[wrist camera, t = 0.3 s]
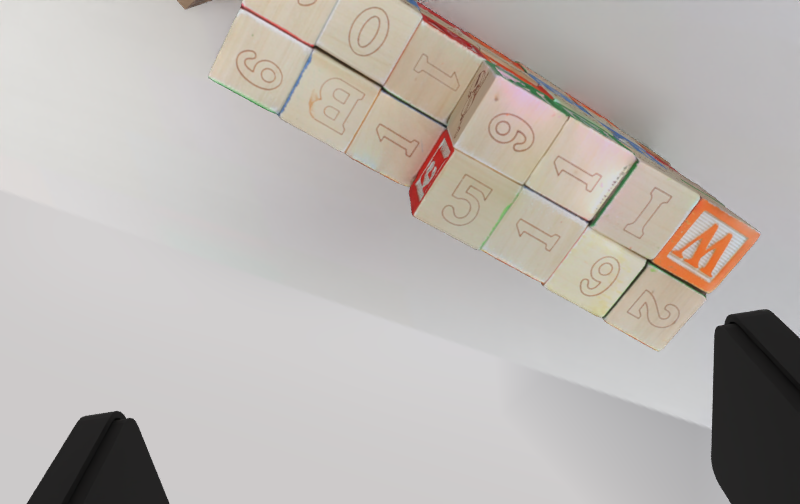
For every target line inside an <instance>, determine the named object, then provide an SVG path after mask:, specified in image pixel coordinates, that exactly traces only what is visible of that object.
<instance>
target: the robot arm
mask: <svg viewBox="0 0 800 504" xmlns="http://www.w3.org/2000/svg"><path fill="white" fill-rule="evenodd" d="M711 450H712V451H711V460H712V467H713V471H714V474H715V477H716V479H717V481H718V483H719V485H720V486H721V488H722V490H723V491H724V493H725V494H726V496H727V498H728V499H729V501H730V503H731V504H800V338H799V337H798V336H797V335H796V334H795V333H794V332H793V331H791V330H790V329H789V328H788V327H787V326H786V325H785V324H784V323H783V322H782V321H781V320H780V319H779V318H778V317H777V316H776V315H775V314H774V313H772V312H771V311H770V310H766V309H763V310H756V311H750V312H744V313H737V314H731V315H729V316H727V318H726V320H725V325H721V326H718V327H716V330H715V335H714V373H713V411H712V449H711ZM27 504H169V501H168V499H167V497H166V494H165V491H164V489H163V487H162V484H161V482H160V479H159V477H158V474H157V472H156V469H155V467H154V465H153V462H152V459H151V457H150V455H149V452H148V449H147V447H146V444H145V442H144V440H143V437H142V435H141V432H140V430H139V427H138V425H137V423H136V421H135V420H134V419H132V418H127V419H126V417H125V416H124V415H123V414H122V413H121V412H119V411H114V412H108V413H102V414H95V415H89V416H84V417H82V418H80V420H79V421H78V422H77V423H76V425H75V427H74V428H73V430H72V431H71V433H70V435H69V437H68V438H67V440H66V441H65V443H64V444H63V446H62V448H61V449H60V451H59V453H58V454H57V456H56V457H55V459H54V461H53V462H52V464H51V466H50V467H49V469H48V470H47V472H46V474H45V475H44V477H43V478H42V480H41V482H40V483H39V485H38V487H37V488H36V490H35V491H34V493H33V495H32V496H31V498H30V499H29V501H28V503H27Z"/></svg>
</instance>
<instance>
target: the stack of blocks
mask: <svg viewBox="0 0 800 504" xmlns="http://www.w3.org/2000/svg"><path fill="white" fill-rule="evenodd" d="M208 77H209V78H210V79H211V80H213V81H214V82H216V83H218V84H220V85H222V86H224V87H225V88H227V89H229V90H231V91H233V92H235V93H237V94H238V95H240V96H242V97H244V98H246V99H248V100H249V101H251V102H253V103H255V104H256V105H258V106H260V107H262V108H264V109H266V110H268V111H270V112H273V113H276V114H277V115H278V116H279V118H281V119H282V120H284V121H285V122H287V123H289V124H291V125H293V126H294V127H296V128H298V129H300V130H302V131H304V132H305V133H307V134H309V135H311V136H313V137H315V138H316V139H318V140H320V141H322V142H324V143H326V144H328V145H329V146H331V147H333V148H335V149H336V150H338V151H340V152H343V153H345V154H346V155H348V156H349V157H350V158H352V159H353V160H356V161H358V162H359V163H361V164H363V165H365V166H366V167H368V168H370V169H372V170H374V171H376V172H378V173H380V174H382V175H384V176H385V177H387V178H389V179H391V180H393V181H395V182H397V183H399V184H401V185H404V186H407V187H410V190H409V196H410V201H411V210H412V215H413V216H414V217H416V218H417V219H419V220H421V221H423V222H425V223H427V224H429V225H431V226H432V227H434V228H436V229H438V230H440V231H442V232H444V233H446V234H448V235H450V236H451V237H453V238H455V239H457V240H459V241H461V242H462V243H464V244H466V245H468V246H470V247H472V248H474V249H476V250H482V251H484V252H485V253H487V254H489V255H490V256H492V257H494V258H496V259H497V260H499V261H501V262H503V263H505V264H507V265H509V266H511V267H513V268H515V269H517V270H518V271H520V272H522V273H524V274H525V275H527V276H529V277H531V278H533V279H535V280H537V281H539V282H541V284H542V286H544V287H545V288H546V289H548V290H550V291H552V292H553V293H555V294H557V295H559V296H561V297H563V298H564V299H566V300H568V301H570V302H572V303H574V304H575V305H577V306H579V307H581V308H583V309H585V310H586V311H588V312H590V313H592V314H594V315H595V316H597V317H600V318H601V317H602V318H603V320H604V321H605V322H606V323H608V324H610V325H611V326H613V327H615V328H617V329H619V330H620V331H622V332H624V333H626V334H627V335H629V336H631V337H633V338H634V339H636V340H638V341H640V342H641V343H643V344H645V345H647V346H649V347H650V348H652V349H654V350H657V351H661V350H662V349H663V348H664V347H665V346H666V345H667V344H668V342H669V341H670V340H671V339H672V338H673V337H674V336H675V334H676V333H677V332H678V331H679V330H680V329H681V328H682V327H683V325H684V324H685V323H686V322H687V321H688V320H689V319H690V317H691V316H692V315H693V314H694V313H695V312H696V311H697V310H698V309H699V308H700V307H701V306H702V305H703V304H704V302H705V301H706V300H707V299H706V293H707V294H709V293H711V292H712V291H713V290H714V289H715V288H717V287H718V286H719V284H720V283H721V282H722V281H723V280H724V278H725V277H726V276H727V275H728V274H729V273H730V271H731V270H732V269H733V268H734V267H735V266H736V264H737V263H738V262H739V261H740V260H741V259H742V257H743V256H744V255H745V254H746V253H747V251H748V250H749V249H750V248H751V247H752V245H753V244H754V243H755V242H756V241H757V239H758V238H759V236H760V235H761V233H760V232H759V231H758V230H756V229H755V228H754V227H752V226H751V225H750V224H748V223H747V222H745V221H744V220H743V219H741V218H740V217H738V216H737V215H736V214H734V213H733V212H731V211H730V210H729V209H727V208H726V207H725V206H724V205H723V204H722V203H720V202H719V201H718V200H717V199H716V198H714V197H713V196H712V195H710V194H709V193H708V192H706V191H705V190H704V189H702V188H701V187H700V186H699V185H697V184H695V183H693V182H692V181H690V180H689V179H687V178H686V177H684V176H683V175H681V174H680V173H678V172H677V171H676V170H675V169H673V168H672V167H670V163H669V162H667V161H666V160H664V159H663V158H662V157H660V156H659V155H657V154H656V153H654V152H653V151H652V150H650V149H649V148H647V147H646V146H644V145H643V144H641V143H639V142H638V141H636V140H635V139H633V138H632V137H630V136H629V135H627V134H626V133H624V132H623V131H621V130H620V129H618V128H617V127H616V126H615V125H613V124H612V123H611V122H610V121H608V120H607V119H606V118H604V117H602V116H601V115H599V114H598V113H596V112H595V111H593V110H592V109H590V108H589V107H587V106H585V105H584V104H582V103H581V102H579V101H578V100H576V99H575V98H573V97H572V96H570V95H568V94H567V93H565V92H563V91H562V90H561V89H559V88H558V87H556V86H555V85H553V84H552V83H550V82H549V81H547V80H546V79H544V78H543V77H541V76H540V75H538V74H537V73H535V72H533V71H532V70H530V69H529V68H527V67H526V66H524V65H523V64H521V63H520V62H513V61H511V60H510V59H508V58H507V57H506V56H504V55H503V54H501V53H499V52H498V51H496V50H494V49H493V48H491V47H490V46H488V45H487V44H485V43H484V42H482V41H480V40H479V39H477V38H476V37H474V36H473V35H471V34H470V33H468V32H464V31H462V30H461V29H459V28H458V27H456V26H455V25H453V24H452V23H450V22H449V21H447V20H446V19H444V18H442V17H441V16H439V15H438V14H436V13H434V12H433V11H431V10H430V9H428V8H426V7H425V6H424V5H422V4H420V3H419V2H417V1H416V0H242V4H241V8H240V10H239V12H238V14H237V16H236V18H235V20H234V22H233V24H232V26H231V28H230V30H229V32H228V35H227V37H226V39H225V41H224V43H223V45H222V47H221V50H220V52H219V54H218V56H217V58H216V60H215V62H214V64H213V66H212V68H211V71H210V73H209V75H208Z"/></svg>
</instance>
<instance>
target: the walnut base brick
mask: <svg viewBox="0 0 800 504" xmlns="http://www.w3.org/2000/svg"><path fill="white" fill-rule="evenodd" d="M177 1H178V2H179V3H180V4H181V5H182V6H183V8H184V9H188V8H191V7H194V6H197V5H200V4H203V3H205V2H208V1H211V0H177Z"/></svg>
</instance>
